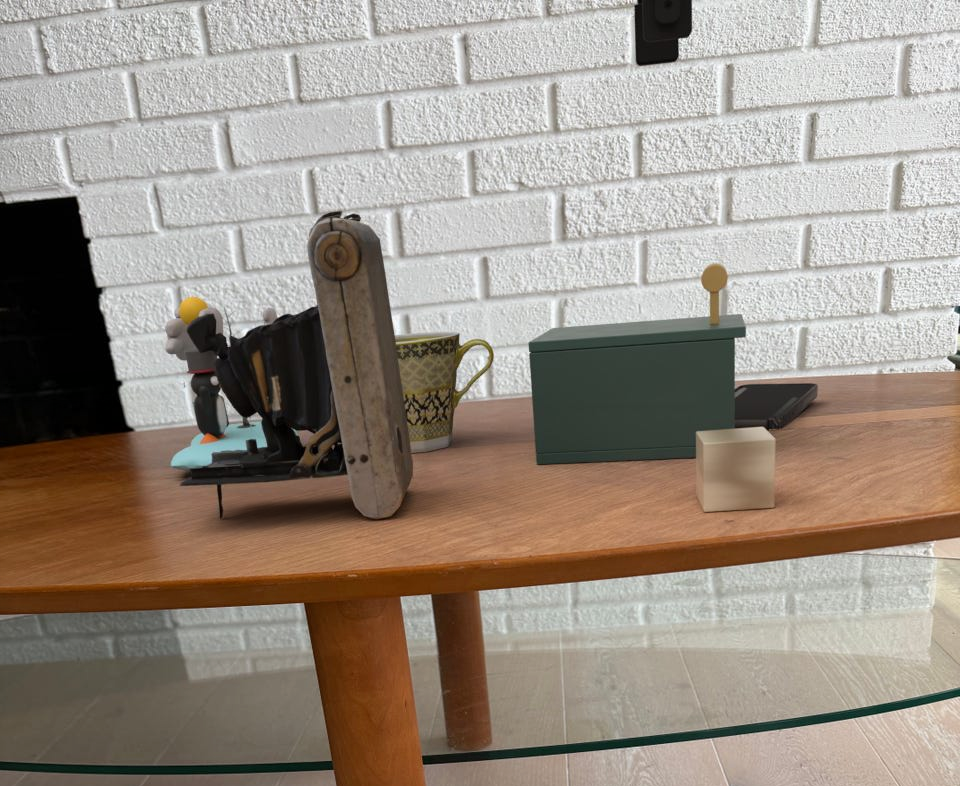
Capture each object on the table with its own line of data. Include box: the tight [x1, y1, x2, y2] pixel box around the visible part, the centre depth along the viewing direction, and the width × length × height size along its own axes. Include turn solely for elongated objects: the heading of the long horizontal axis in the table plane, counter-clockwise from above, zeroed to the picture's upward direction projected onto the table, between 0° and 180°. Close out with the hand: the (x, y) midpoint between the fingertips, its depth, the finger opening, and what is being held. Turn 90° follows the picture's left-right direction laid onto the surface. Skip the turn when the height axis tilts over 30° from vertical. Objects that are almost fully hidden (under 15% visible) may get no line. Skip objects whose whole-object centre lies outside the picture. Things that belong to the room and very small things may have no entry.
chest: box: [528, 338, 736, 466], centre depth 85 cm, size 16×13×9 cm
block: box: [695, 427, 777, 513], centre depth 65 cm, size 4×4×4 cm
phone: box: [735, 382, 819, 431], centre depth 95 cm, size 8×1×15 cm
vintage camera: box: [179, 210, 414, 520], centre depth 71 cm, size 10×16×20 cm, turn 88°
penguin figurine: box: [164, 296, 298, 472], centre depth 95 cm, size 20×11×15 cm, turn 1°
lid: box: [527, 262, 747, 353], centre depth 83 cm, size 17×13×5 cm
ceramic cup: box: [395, 331, 495, 454], centre depth 94 cm, size 13×10×10 cm
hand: (662, 52), depth 72 cm, fingers open, 9 cm apart
